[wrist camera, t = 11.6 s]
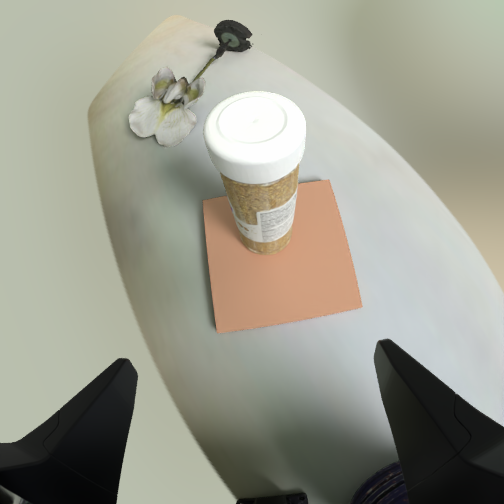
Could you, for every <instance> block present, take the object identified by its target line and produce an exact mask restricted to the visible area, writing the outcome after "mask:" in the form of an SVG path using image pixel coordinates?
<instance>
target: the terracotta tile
mask: <svg viewBox="0 0 504 504" xmlns="http://www.w3.org/2000/svg"><path fill="white" fill-rule="evenodd" d="M203 212H204V223H205V234H206V244H207V254H208V264H209V273H210V282H211V290H212V298H213V306H214V314H215V322H216V329H217V333H226V332H234V331H241V330H248V329H254V328H261V327H267V326H273V325H279V324H285V323H291V322H296V321H302V320H307V319H312V318H317V317H322V316H327V315H332V314H336V313H341V312H345V311H350V310H354V309H359V308H362V302H361V297H360V292H359V288H358V283H357V279H356V274H355V270H354V266H353V261H352V257H351V253H350V249H349V246H348V242H347V238H346V234H345V230H344V227H343V223H342V220H341V216H340V213H339V209H338V206H337V203H336V199H335V196H334V193H333V190H332V187H331V183H330V180H322V181H314V182H307V183H300V184H298V189H297V197H296V205H295V212H294V219H293V223H292V236H291V239H290V242H289V243H288V245H287V246H286V247H285V248H284V249H283V250H281V251H280V252H278V253H276V254H273V255H259V254H256V253H254V252H251V251H250V250H249V249H248V248H247V247H246V246H245V245H244V244H243V242H242V240H241V238H240V233H239V229H238V227H237V224H236V221H235V218H234V215H233V213H232V210H231V207H230V204H229V200H228V198H227V196H222V197H217V198H212V199H207V200H203Z"/></svg>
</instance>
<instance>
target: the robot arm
mask: <svg viewBox="0 0 504 504" xmlns="http://www.w3.org/2000/svg"><path fill="white" fill-rule="evenodd" d="M374 364H375V368H376V373H377V378H378V383H379V388H380V393H381V398H382V401H383V405H384V408H385V411H386V414H387V418H388V421H389V424H390V428H391V431H392V435H393V438H394V442H395V445H396V449H397V453H398V457H399V461H400V465H401V469H402V473H403V477H404V481H405V486H406V490H407V495H408V500H409V504H504V427H503V426H502V425H500V424H498V423H497V422H495V421H494V420H492V419H491V418H489V417H488V416H486V415H484V414H483V413H482V412H480V411H479V410H477V409H476V408H474V407H473V406H472V405H470V404H469V403H468V402H467V401H465V400H464V399H463V398H462V397H460V396H459V395H458V394H455V392H454V391H453V390H452V389H451V388H449V387H448V386H447V385H446V384H445V383H443V382H442V381H441V380H440V379H438V378H437V377H436V376H435V375H434V374H432V373H431V372H430V371H429V370H427V369H426V368H425V367H424V366H423V365H421V364H420V363H419V362H418V361H416V360H415V359H414V358H413V357H411V356H410V355H409V354H408V353H407V352H405V351H404V350H403V349H402V348H400V347H399V346H398V345H397V344H395V343H394V342H393V341H392V340H390V339H383V340H379V341H378V342H377V345H376V349H375V354H374ZM137 380H138V375H137V371H136V370H135V368H134V367H133V365H132V363H131V362H130V360H129V359H126V358H119V359H117V360H116V361H115V362H114V363H112V364H111V365H110V366H109V367H108V368H107V369H105V370H104V371H103V372H102V373H101V374H100V375H99V376H97V377H96V378H95V379H94V380H93V381H92V382H90V383H89V384H88V385H87V386H86V387H85V388H83V389H82V390H81V391H80V392H79V393H78V394H77V395H76V396H74V397H73V398H72V399H71V400H70V401H69V402H68V403H66V404H65V405H64V406H63V407H62V408H61V409H60V410H58V411H57V412H56V413H55V414H54V415H52V416H51V417H50V418H49V419H48V420H46V421H45V422H44V423H43V424H41V425H40V426H39V427H37V428H36V429H34V430H33V431H32V432H30V433H29V434H27V435H26V436H25V437H23V438H22V439H21V440H18V441H16V442H12V443H0V504H116V503H117V494H118V488H119V481H120V474H121V469H122V463H123V458H124V453H125V448H126V442H127V438H128V433H129V428H130V424H131V419H132V415H133V410H134V403H135V394H136V387H137ZM300 497H304V498H302V499H300ZM240 503H244V504H308V498H307V495H306V494H305V493H299V494H293V495H285V496H283V495H282V496H273V497H262V498H253V499H239V500H238V501H237V503H236V504H240Z"/></svg>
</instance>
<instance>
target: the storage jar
mask: <svg viewBox="0 0 504 504" xmlns="http://www.w3.org/2000/svg"><path fill="white" fill-rule="evenodd" d="M351 504H409V500H408V495H407V490H406V486H405V481H404V477H403V473H402V469H401V465H400V461H398V462H395V463H393V464H391V465H389V466H386V467H385V468H383V469H381V470H380V471H378V472H377V473H375V474H374V475H372V476H371V477H370V478H369V479H368V480H367V481H366V482H365V483H364V484H362V485H361V487H360V488H359V489H358V490H357V492H356V493H355V495H354V496H353V499H352V501H351Z"/></svg>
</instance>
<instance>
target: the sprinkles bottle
mask: <svg viewBox="0 0 504 504" xmlns="http://www.w3.org/2000/svg"><path fill="white" fill-rule="evenodd" d="M203 135H204V140H205V143H206V146H207V149H208V152H209V155H210V158H211V160H212V162H213V164H214V166H215V167H216V168H217V169H218V171H219V172H220V174H221V178H222V180H223V184H224V186H225V189H226V194H227V198H228V200H229V204H230V207H231V210H232V213H233V215H234V218H235V221H236V224H237V227H238V229H239V233H240V238H241V240H242V242H243V244H244V245H245V246H246V247H247V248H248V249H249V250H250V251H251V252H254V253H256V254H259V255H273V254H276V253H278V252H280V251H281V250H283V249H284V248H285V247H286V246H287V245H288V243H289V242H290V239H291V236H292V223H293V219H294V212H295V205H296V197H297V189H298V171H299V162H300V160H301V158H302V156H303V153H304V148H305V138H306V122H305V118H304V116H303V113H302V112H301V110H300V109H299V108H298V107H297V105H295V104H294V103H293V102H292V101H290V100H289V99H287V98H285V97H283V96H281V95H278V94H275V93H271V92H265V91H250V92H244V93H240V94H236V95H233V96H231V97H229V98H227V99H225V100H223V101H222V102H220V103H219V104H218V105H216V106H215V107H214V108H213V109H212V110H211V112H210V113H209V115H208V116H207V118H206V121H205V124H204V129H203Z"/></svg>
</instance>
